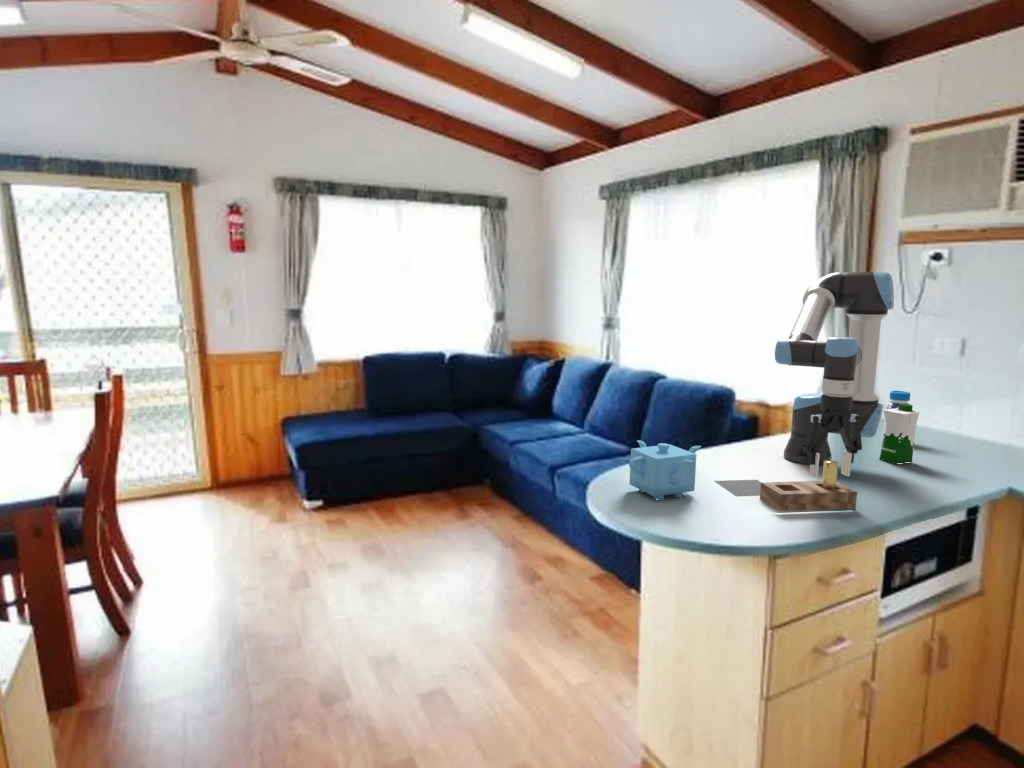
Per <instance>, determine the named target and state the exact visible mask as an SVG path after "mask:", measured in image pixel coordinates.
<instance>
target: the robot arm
mask: <svg viewBox="0 0 1024 768" xmlns="http://www.w3.org/2000/svg"><path fill="white" fill-rule="evenodd" d="M894 292H895V290H894V281H893V276H892V275H891V274H890V273H889V272H884V271H851V272H850V271H847V272H846V271H845V272H844V271H838V272H837V271H836V272H832V273H829V274H827V275H824V276H822V277H821V278H819V279H817V280H816V281H814V282H813V283H812V284H810V286H809V287H808V288H807V289H806V291H805V293H804V295H803V297H802V304H803V305H802V307H801V309H800V312H799V314H798V316H797V319H796V321H795V323H794V325H793V328H792V330H791V332H790V333H789V334H790V335H789V336H788V338H780V339H778V340H777V342H776V344H775V348H774V360H775V362H776V363H777V364H778V365H779V364H780V365H786V366H789V367H790V366H793V367H794V366H795V367H811V368H823V376H822V383H821V392H822V393H820V392H819V393H817V392H816V393H814V392H813V393H804V394H799V395H796V397H794V400H793V406H792V417H791V429H790V437H789V439H788V441H787V444H786V446H785V448H784V450H783V458H785V459H786V460H788V461H791V462H794V463H799V464H803V465H809V474H808V475H809V476H812V477H814V478H818V476H819V467H820V466H823V465H824V461H825V460H831V461H832V452H831V448H830V445H829V440H828V439H829V434H836V435H840V437H841V440H842V443H843V445H844V448H845V450H843V451H842V455H841V456H842V458H841V467H840V468H841V469H840V470H841V471H840V474H841V475H843V476H845V477H850V476H851V466H852V464H853V463H854V458H855V455H856V454H858V451H861V450H863V443H862V438H868V439H869V438H873V437H874V436H875V435H876V433H877V430H878V428H879V425H880V420H881V417H882V413H883V410H884V409H883V408H884V405H883V404H882V403H881V402H879V399H880V398H879V396H877V395H876V393H875V386H876V385H875V384H876V374H877V365H878V355H879V347H880V346H879V345H880V335H881V325H882V320H883V319H884V318H886V317H887V316H888V310H893V309H894V302H895V301H894V300H895V293H894ZM835 308H836V309H846V311H845V315H846V316H847V317H849V319H850V325H849V334H848V335H849V336H848V337H847V336H830V337H828V338H827V339H826V341H821V340H818V338H819V336H820V333H821V331H822V328H823V326H824V324H825V321H826V319H827V316H828V313H830V312H831V311H832V310H833V309H835Z"/></svg>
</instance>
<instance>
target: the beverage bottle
mask: <svg viewBox="0 0 1024 768" xmlns="http://www.w3.org/2000/svg"><path fill="white" fill-rule="evenodd" d="M889 400H890V401H889V402H888V404H887V405H886V407H885V408H886V409H885V410H888V409H896V408H899V404H909V402H910V401H911V392H910V391H909V392H908V391H904V390H891V391H890V392H889Z"/></svg>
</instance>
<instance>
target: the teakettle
mask: <svg viewBox="0 0 1024 768" xmlns="http://www.w3.org/2000/svg"><path fill="white" fill-rule="evenodd" d="M636 442H637V443H638V444H639V447H634V448H631V449H630V460H629V461H628V466H629V483H628V484H629V485H630V486H632V487H634V488H636V489H638V490H639V491H642V492H646V493H645V494H647V495H650V496H652V497H653V498H654V499H658V500H663V499H664V500H665V496H669V495H673V496H674V497H675V496H676V497H675V498H679V497H683V498H684V496H685V495H684V493H689V492H694V491H695V487H696V470H697V454H696V452H697V451H698V450H699V449H700V448H701V447H702V445H694V446H691V447H690V448H689V450H686V449H683V448H681V447H677V446H675V445H672V444H669V443H664V442H661V443H657V445H652V446H647V444H646V443H645V441H643V440H639V439H638V440H636ZM639 491H638V492H639ZM654 499H653V500H654ZM664 500H663V501H664Z"/></svg>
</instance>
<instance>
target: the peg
mask: <svg viewBox="0 0 1024 768" xmlns="http://www.w3.org/2000/svg"><path fill="white" fill-rule="evenodd" d="M822 466H823V468H822V475H821V476H822V478H821V481H822V486H821V488H823V489H825V490H832V489H836V482H837V479H838V469H839V462H838V461H835V460H832V459H831V460H825V461H824V465H822Z"/></svg>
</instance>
